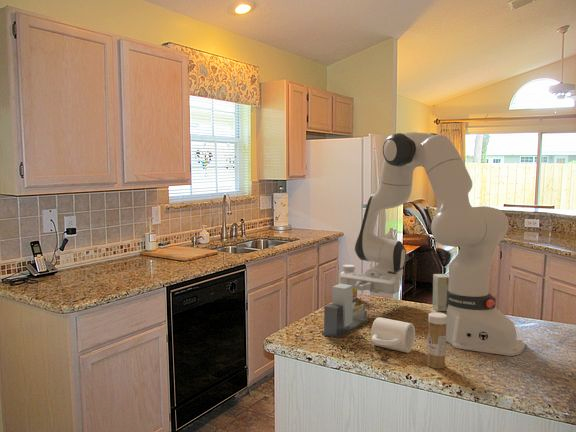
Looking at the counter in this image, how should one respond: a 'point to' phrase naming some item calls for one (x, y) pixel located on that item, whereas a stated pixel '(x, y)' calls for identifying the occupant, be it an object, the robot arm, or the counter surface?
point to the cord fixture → (335, 320)
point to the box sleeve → (344, 301)
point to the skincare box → (440, 291)
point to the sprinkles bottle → (437, 340)
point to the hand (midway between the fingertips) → (358, 287)
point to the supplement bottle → (347, 270)
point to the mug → (393, 334)
